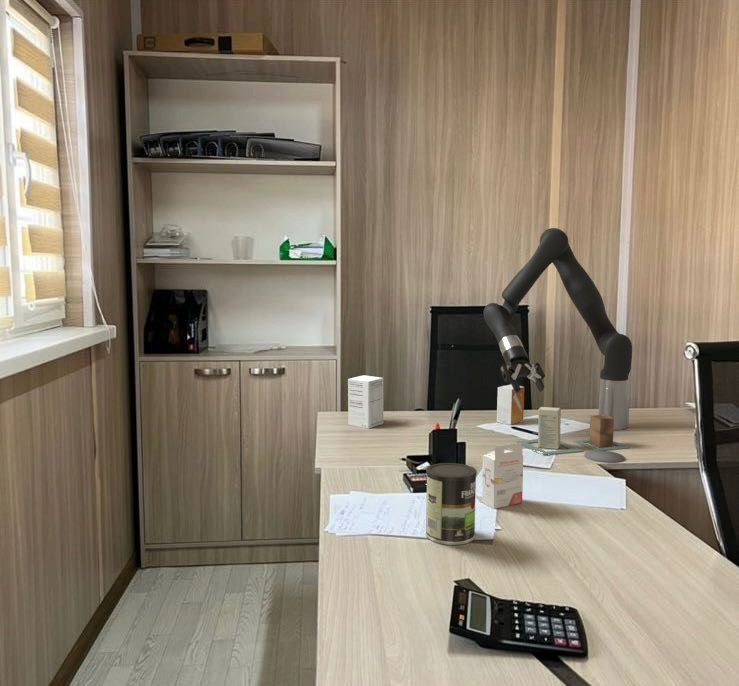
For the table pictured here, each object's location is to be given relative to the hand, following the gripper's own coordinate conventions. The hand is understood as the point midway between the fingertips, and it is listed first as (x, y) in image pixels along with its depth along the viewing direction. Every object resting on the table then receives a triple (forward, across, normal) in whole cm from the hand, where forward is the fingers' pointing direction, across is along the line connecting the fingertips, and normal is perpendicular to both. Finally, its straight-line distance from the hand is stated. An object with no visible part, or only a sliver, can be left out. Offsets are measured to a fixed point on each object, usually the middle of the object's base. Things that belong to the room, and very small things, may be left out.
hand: (530, 390), depth 218 cm
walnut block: (+21, +17, +1) cm, 27 cm away
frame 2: (+21, +17, +1) cm, 27 cm away
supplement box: (-13, -45, +36) cm, 59 cm away
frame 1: (+19, 0, +3) cm, 20 cm away
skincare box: (+19, 0, +3) cm, 20 cm away
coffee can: (+58, -59, -35) cm, 90 cm away
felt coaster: (+30, +9, -8) cm, 32 cm away
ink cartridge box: (+48, -39, -25) cm, 67 cm away
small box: (-5, +6, +27) cm, 28 cm away
